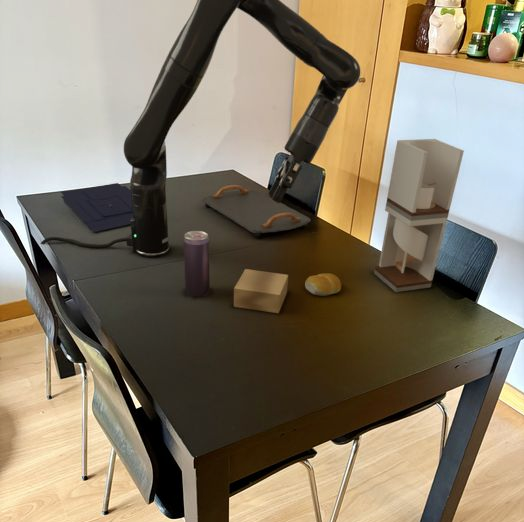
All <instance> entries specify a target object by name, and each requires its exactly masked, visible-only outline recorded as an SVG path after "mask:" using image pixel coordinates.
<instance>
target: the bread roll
mask: <svg viewBox="0 0 524 522" xmlns="http://www.w3.org/2000/svg"><path fill="white" fill-rule="evenodd" d="M304 287H305V290H306V291H308V292H309V293H311V294H312V295H314V296H320V297H322V296H323V297H325V296H326V297H327V296H330V295H335V294H337V293H339V292H340V291H341V289H342V282H341V280H340V279H339V277H338V276H336V275H335V274H333V273H329V272H326V273H319V274H317V275H315V274H314V275H310V276H308V278H306V280H305V283H304Z"/></svg>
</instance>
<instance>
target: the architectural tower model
mask: <svg viewBox="0 0 524 522" xmlns="http://www.w3.org/2000/svg"><path fill="white" fill-rule="evenodd" d="M464 153H465V150H463V149H461V148H459V147H456V146H454V145H452V144H449V143H446V142H444V141H441V140H438V139H436V138H424V139H423V138H421V139H401V140H400V139H399V140H398V139H397V141H396V145H395V151H394V158H393V162H392V169H391V175H390V181H389V185H388V192H387V197H386V203H385V208H384V211H385V212H387V213H388V214H387V218H386V224H385V225H386V226H385V230H384V235H383V239H382V248H381V251H380V257H379V263H378V265H375V266H374V271H373V274H374V275H375V276H376V277H377V278H378V279H380V280H381V281H382V282H383V283H384V284H386V285H387V286H388V287H389V288H390V289H392V290H393V292H395V293H400V292H407V291H408V292H409V291H414V290H421V289H429V288H431V287H432V284H433V279H434V275H435V271H436V267H437V263H438V258H439V254H440V252H441V251H440V250H441V246H442V242H443V239H444V234H445V231H446V227H447V223H448V218H449V213H450V210H451V205H452V202H453V198H454V193H455V188H456V184H457V180H458V176H459V172H460V168H461V164H462V161H463V156H464Z"/></svg>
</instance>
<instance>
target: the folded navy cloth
mask: <svg viewBox="0 0 524 522" xmlns="http://www.w3.org/2000/svg"><path fill="white" fill-rule="evenodd" d="M60 193H61V194H62V195H61V196H60V197H61V198H62V200H63V202H64V204H65V205H66V206H67V207H69V209H70V210H71V211H73V213H74V214H75V215H76V216H77V217H78V218H79V219H80V220H81V221H82V222H83V223H84V224H85V225H86V227H87V228H89V229H90V230H91V231H92V232H93V233H97V232H100V231H105V230H109V229H110V230H111V229H114V228H118V227H123V226H127V225H131V223H130V221H131V219H132V218H133V211H132V200H131V190H130V187H128V186H127V185H123V186H122V185H121V184H120V183H119V182H114V183H109V184H108V183H107V184H103V185H102V184H101V185H96V186H91V187H84V188H83V187H82V188H77V189H70V190H64V191H63V190H62V191H60Z"/></svg>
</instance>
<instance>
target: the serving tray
mask: <svg viewBox="0 0 524 522" xmlns="http://www.w3.org/2000/svg"><path fill="white" fill-rule="evenodd" d="M230 190H231V191H230ZM232 190H233V191H232ZM201 202H202V203H204V206H205V208H207V209H208V208H209V209H210V208H211V209H213V210H215V211H217V212H218V213H220V214H222V215H223V216H224V217H226V218H228V219H230V220H231V221H233V222H234V223H235V224H237V225H238V226H241V227H242V228H243V229H246V230H247V231H249V232H251V233H253V237H254V239H256V240H258V239H260V238H261V234H266V233H277V232H283V231H290V230H293V229H297V228H300V227H301V229H302V230H305V229H307V227H308V224H309V223H310V222H311V218H310V217H309V216H306V215H304V214H303V213H300V212H299V211H297V210H295V209H293V208H291V207H289V206H287V205H286V204H284V203H282V202H280V203H277V202H275V201H273V200H272V197H270V196H269V195H267V194H264V193H263V192H261V191H258V190H248V189H244V188H243V187H242V186H241V185H239V184H238V185H237V184H231V185H225V186H223V187H221V188H220V189H218V191H217V192H216V193H215V194H211V195H209V196H207V197H204V198H202V199H201Z"/></svg>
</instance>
